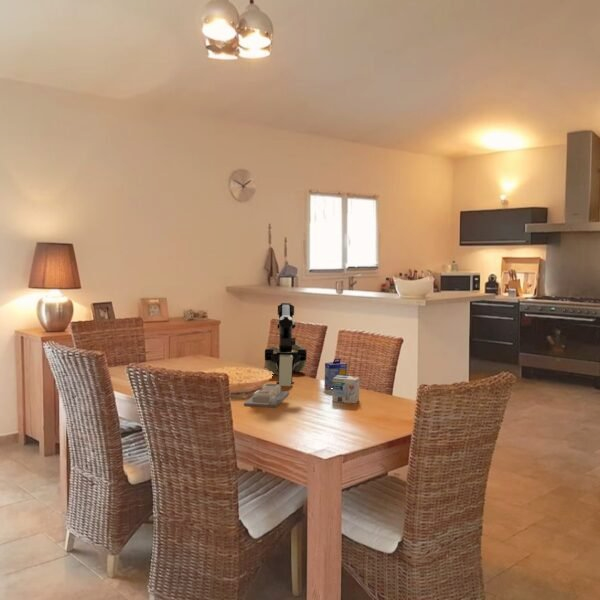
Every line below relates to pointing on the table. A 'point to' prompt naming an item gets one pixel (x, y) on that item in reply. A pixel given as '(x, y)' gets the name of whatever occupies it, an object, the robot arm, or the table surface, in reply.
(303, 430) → the table surface
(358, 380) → the light bulb box
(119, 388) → the table surface
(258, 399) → the rail board
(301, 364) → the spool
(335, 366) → the ink cartridge box
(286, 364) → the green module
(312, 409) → the table surface
